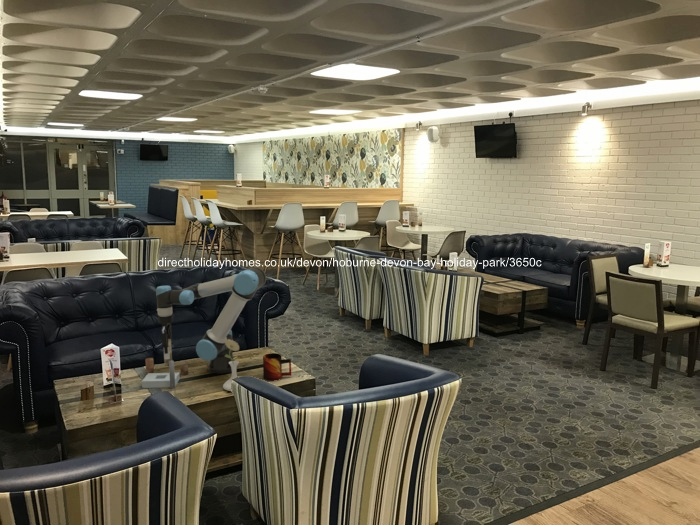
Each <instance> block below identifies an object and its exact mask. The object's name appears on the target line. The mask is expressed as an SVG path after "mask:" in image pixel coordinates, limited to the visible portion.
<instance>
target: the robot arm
mask: <svg viewBox="0 0 700 525" xmlns="http://www.w3.org/2000/svg"><path fill="white" fill-rule="evenodd" d="M266 281H267V275H266V272H265V271H264V270H263V269H262V268H260V267H249V268H247V269H245V270H241V271H240V272H239V273H237V274H236V275H235V274H234V275H231V276H227V277H223V278H220V279H219V278H218V279H215V280H211V281H206V282H203V283H202V282H201V283H199V284H193V285H190V286H188V287H185V288H183V289H172V286H170V285H160V286H157V287H156V290H155V291H156V292H155V293H156V294H155V296H156V308H157V309H156V311H157V315H158V316H157V321H158V324H161V327H160V328H161V329H160V335H161V348H162V349H163V360H164V359H170V353H169V347H168V339H171V345H173V344H174V342H173V336H172V333H173V332H172V322H174V315H173V313H174V312H173V305H183V306H186V305H191V304H193V302H194V300H197V299H202V298H205V297H210V296H214V295H219V294H222V293H227V292H232V293H231V295H230V296H229V298H228V300H227V302H226V304H225V305H224V307H223V309H222V310H221V312H220V313H219V316H218V317H217V319H216V321H215V323H214V324H213V326H212V327H211V329H208V330H206V332H205V334H204V336H203V337H202V339H200V340H199V341H198V342H197V343H196V345H195V352H196V354H197V356H198V357H199V358H200V359H201V360H203V361H206V362H208V366H207V371H208V372H209V373H212V374H228V373H232V369H231V366H230V364H229V362H230V361H232V360H231V359H233V358H234V354H233V353H234V351H233V350H231V351H230V349H229V348H228V347H227V346H226V345H225V341H226V340H228V339H230V340H231V341H232V340H233V331H232V328H233V326H234V324H235V323H236V321H237V320H238V317H239V316H240V314H241V312H242V311H243V310H244V308H245V305H246V304H247V302H248V301H251V300H252V299H253V298H254V296H255V294H256V293H257V291H258V290H260V289H261V288H263V287H264V285H265V284H266ZM229 352H230V356H231V358H227V357H225V355H226V354H227V355H229ZM233 361H236V360H235V359H234V360H233Z"/></svg>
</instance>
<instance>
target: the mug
mask: <svg viewBox="0 0 700 525" xmlns="http://www.w3.org/2000/svg"><path fill="white" fill-rule="evenodd" d="M284 363H285V364H287V363H288V371H287V372H282V364H284ZM262 369H263V371H262V374H263V378H262V379H263V380H264V381H267V382H275V381H274V380H277V381H280V380H281V379H282V377H283V376H285V377H286V376H289V377H290V376H292V358H286V359H285V358H283V359H282V355H281V354H280V353H276V352H275V353H273V352H272V353H271V352H270V353H267V354H263V355H262ZM279 379H280V380H279Z"/></svg>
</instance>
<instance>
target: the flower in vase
mask: <svg viewBox="0 0 700 525" xmlns="http://www.w3.org/2000/svg"><path fill="white" fill-rule="evenodd" d="M225 345H226V346H227V347H228V348H229V349H230V351H231V350H233V352H238V351H240V345H239V343H238V342H237V341H234V339H232V341H231V340H230V339H228V340H226V341H225ZM225 357H227V358H231V356H230V352H229V355H227V354H226V355H225ZM233 357H234V356H233ZM238 357H239V356H235V357H234V358H233V359H231V360H232V361H230V362H229V364H230V366H231V369H232V372H231V376H230V377H229V378H228V380H226V381H225V382H224V383H223V385H222V388H223V389H224V390H225V391H229V392H232V391H231V381H232V379H234V378H235V377H238V375H237V368H238V365H239V363H240V361H238V360H235V359H237V358H238ZM233 360H235V361H233Z"/></svg>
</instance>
